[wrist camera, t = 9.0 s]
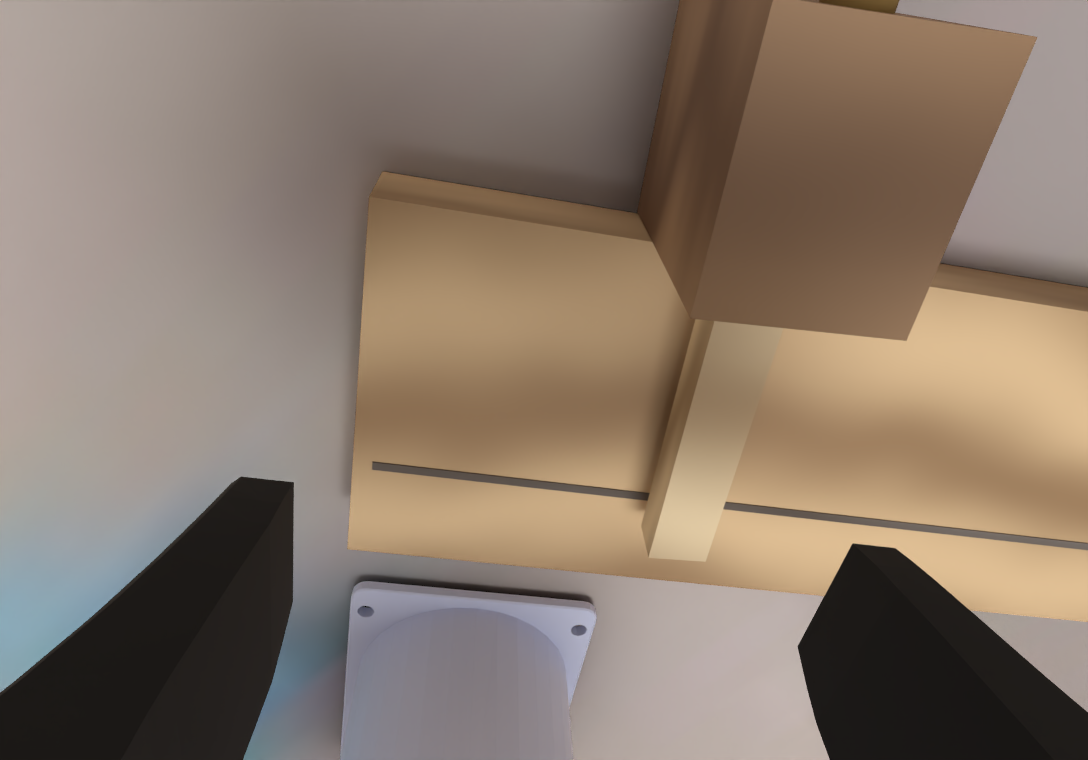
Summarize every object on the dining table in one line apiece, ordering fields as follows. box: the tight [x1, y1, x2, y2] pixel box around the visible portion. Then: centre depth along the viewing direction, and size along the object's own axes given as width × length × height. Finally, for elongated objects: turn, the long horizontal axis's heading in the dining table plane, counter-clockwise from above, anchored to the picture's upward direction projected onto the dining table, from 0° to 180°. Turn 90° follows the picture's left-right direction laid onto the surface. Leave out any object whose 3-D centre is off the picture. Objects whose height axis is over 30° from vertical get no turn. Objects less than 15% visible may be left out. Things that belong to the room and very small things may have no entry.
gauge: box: [637, 0, 1037, 562], centre depth 16 cm, size 14×4×6 cm, turn 172°
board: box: [347, 172, 1088, 622], centre depth 20 cm, size 10×24×2 cm, turn 80°
